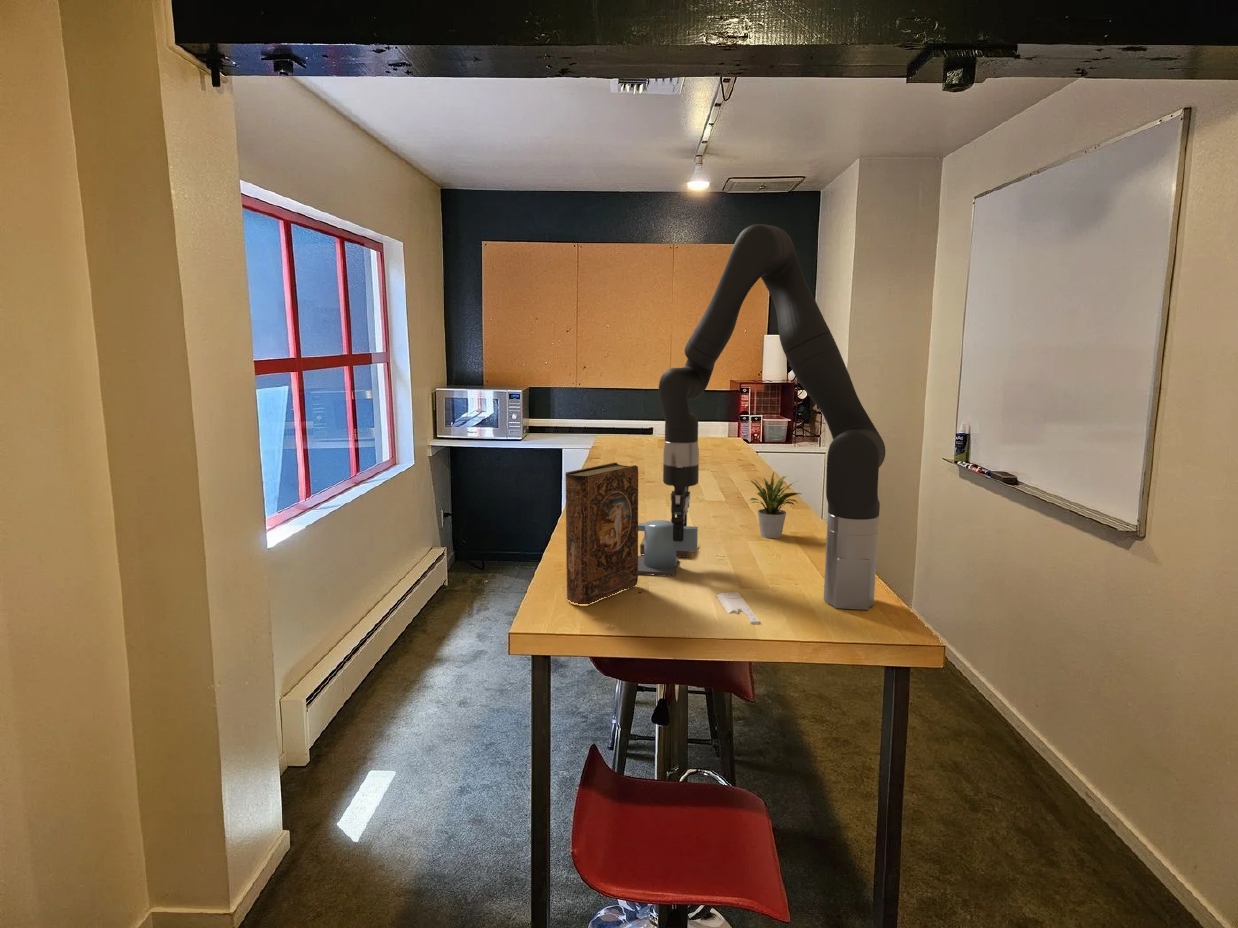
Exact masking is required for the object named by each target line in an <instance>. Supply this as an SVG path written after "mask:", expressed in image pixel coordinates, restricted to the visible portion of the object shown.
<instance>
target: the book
mask: <svg viewBox="0 0 1238 928" xmlns="http://www.w3.org/2000/svg"><path fill="white" fill-rule="evenodd" d="M638 524H639V467H638V465H622V464H618V462H610V463H606V464H601V465H594V466H590V467H585V468H580V469H576V470H572V471H571V470H570V471H565V538H566V539H565V540H566V541H565V543H566V544H565V546H566V548H565V549H566V554H565V555H566V600H567V599H568V600H570V601H571V602H574V603H578V604H590V603H592V602H595V601H597V600H599V599H601V598H604V597H608V596H610V595H612V594H615V593H617V592H619V591H621V590H624V589H628V588H630V589H632V588H634V587H636V586H637V584H638V582H639V581H638V579H639V574H638V556H639V531H638ZM635 585H636V586H635ZM633 586H634V587H633ZM631 587H632V588H631ZM628 590H629V589H628Z"/></svg>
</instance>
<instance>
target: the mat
mask: <svg viewBox="0 0 1238 928" xmlns="http://www.w3.org/2000/svg"><path fill="white" fill-rule="evenodd" d="M678 562H679V557H676V566H675V567H672V568H668V569H654V568H649V567H647V566H645V565H644V555H638V575H639V574H654V575H653V576H658V575H665V576H664V577H674V575H675V572H676V569H677V566H678Z"/></svg>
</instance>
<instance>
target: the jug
mask: <svg viewBox="0 0 1238 928" xmlns="http://www.w3.org/2000/svg"><path fill="white" fill-rule="evenodd" d="M698 528H699V527H698V526H693V525H692V526H689V525H687V526H684V539H683V541H682V542H678V541H673V524H672V521H671V520H665V519H664V520H663V519H655V520H650V521H649V520H648V521H645V522H638V532H644V533H643V534H644V537H643V538H644V555H643V556H644V565H645V566H647V567H649V568H654V569H668V568H672V567H675V566H676V558H677V557H676V551H689V552H696V553H697V552H698V538H699V537H698V532H699V529H698ZM676 567H677V566H676Z"/></svg>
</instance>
